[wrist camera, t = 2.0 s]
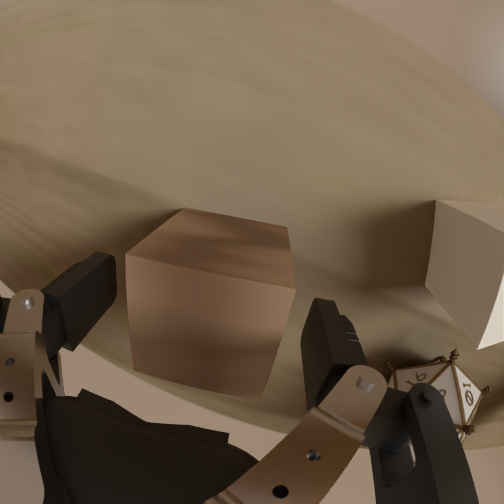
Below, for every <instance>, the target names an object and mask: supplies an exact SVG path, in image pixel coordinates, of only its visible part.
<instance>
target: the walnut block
mask: <svg viewBox="0 0 504 504" xmlns="http://www.w3.org/2000/svg"><path fill="white" fill-rule="evenodd" d="M125 269H126V294H127V309H128V322H129V332H130V341H131V350H132V358H133V365H134V370H135V371H138V372H141V373H144V374H147V375H151V376H154V377H157V378H161V379H164V380H168V381H172V382H175V383H179V384H183V385H187V386H191V387H195V388H199V389H204V390H208V391H213V392H218V393H223V394H228V395H233V396H239V397H245V398H251V399H257V400H261V397H262V395H263V392H264V389H265V386H266V383H267V380H268V377H269V374H270V371H271V369H272V366H273V363H274V360H275V357H276V354H277V350H278V347H279V344H280V341H281V338H282V335H283V332H284V329H285V325H286V322H287V319H288V316H289V312H290V309H291V306H292V302H293V299H294V296H295V292H296V283H295V276H294V270H293V263H292V256H291V250H290V244H289V237H288V231H287V227H283V226H278V225H273V224H268V223H263V222H258V221H253V220H248V219H242V218H237V217H232V216H227V215H221V214H216V213H210V212H205V211H199V210H193V209H188V208H183V209H182V210H181V211H179V212H178V213H177V214H175V215H174V216H173V217H171V218H170V219H169V220H167V221H166V222H165V223H163V224H162V225H161V226H160V227H158V228H157V229H156V230H154V231H153V232H152V233H151V234H149V235H148V236H147V237H146V238H144V239H143V240H142V241H141V242H139V243H138V244H137V245H136V246H134V247H133V248H132V249H131V250H129V251H128V252H127V253H126V254H125Z"/></svg>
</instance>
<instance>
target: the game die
mask: <svg viewBox="0 0 504 504" xmlns="http://www.w3.org/2000/svg"><path fill="white" fill-rule="evenodd" d="M450 354H451V355H450V356H449V357H450V360H447V361H446V358H445V356H443V357H442V358H441V359H440V362H437V363H431V364H425V365H419V366H412V367H405V368H397V369H396V368H395V364H393V362H390V361H387V360H386V362H387V367H388V368H389V370H391V371H392V374H391V377H390V379H389V382H388V384H387V387H390V388H393V389H397V390H400V391H404V392H408V391H409V390H410V389H411V387H412V386H413V385H414V384H416V383H427V384H430V385H432V386H433V387H435V388H436V389H437V390H438V391H439V392H440V393H441V395H442V396H443V399H444V401H445V403H446V406H447V408H448V410H449V413H450V415H451V418H452V420H453V423H454V425H455V428H456V430H457V433H458V436H459V439H460V441H461V444H462V442H463V440H464V438H465V436H466V434H468V435H470V434H471V433H473V432H475V431H474V425H472V426H471V423H472V421H473V418H474V416H475V413H476V411H477V408H478V406H479V403H480V400H481V398H482V395H483V394H485V395H486V394H487V393H490V391H491V390H492V388H493V387H489V386H487V387H486V388H484V389H483V390H481V389H480V388H479V387H478V386H477V385H476V384H475V383H474V382H473V381H472V380H471V379H470V378H469V377H468V375H467V374H466V373H465V372H464V371H463V370H462V369H461V368H460V367H459V366H458V365H457V364H456V363H455V362H454V361H455V360H456V359H457V356H459V354H458V351H457V348H456V349H455V350H454V351H452V352H451V353H450ZM409 445H410V449H411V453H412V458H413V462H414V466H415V454H414V450H413V446H412V442H411V443H410V444H409Z"/></svg>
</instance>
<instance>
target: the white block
mask: <svg viewBox="0 0 504 504" xmlns="http://www.w3.org/2000/svg"><path fill="white" fill-rule="evenodd" d="M425 287H426V288H427V289H428V290H429V291H430V292H431V294H432V295H433V296H434V297H435V298H436V299H437V300H438V302H439V303H440V304H441V305H442V306H443V308H444V309H445V310H446V311H447V312H448V313H449V315H450V316H451V317H452V318H453V320H454V321H455V322H456V323H457V325H458V326H459V327H460V328H461V330H462V331H463V332H464V333H465V335H466V336H467V337H468V339H469V340H470V341H471V343H472V344H473V345H474V347H475V348H476V349H477V350H478V349H481V348H484V347H487V346H490V345H493V344H496V343H499V342H501V341H504V206H502V205H499V204H497V203H493V202H477V201H456V200H436V207H435V219H434V229H433V237H432V245H431V252H430V259H429V265H428V271H427V276H426V281H425Z"/></svg>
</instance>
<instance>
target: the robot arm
mask: <svg viewBox="0 0 504 504" xmlns="http://www.w3.org/2000/svg"><path fill="white" fill-rule="evenodd" d="M116 294H117V283H116V262H115V258H114V256H113V255H109V254H105V253H101V252H96V253H94V254H93V255H91V256H90V257H89V258H87V259H86V260H84V261H82V262H79V263H77V264H74V265H73V266H71V267H70V268H69V269H67V271H65V272H64V273H62V274H61V275H60V276H58V277H57V278H56V279H55V280H53V281H52V282H51V283H50V284H48V285H47V286H46V287H45V288H43V289H42V290H41V291H39V290H36V289H25V290H22V291H20V292H18V293H16V294H15V295H14V296H13V297H12V298H11V299H9V298H3V297H1V296H0V504H319V503H320V502H321V500H322V499H323V498H324V497H325V496H326V494H327V493H328V492H329V490H330V489H331V487H332V486H333V485H334V484H335V482H336V481H337V480H338V478H339V477H340V475H341V474H342V473H343V471H344V470H345V468H346V467H347V465H348V464H349V462H350V461H351V459H352V458H353V456H354V455H355V453H356V451H357V450H358V448H359V447H360V445H364V446H368V447H369V449H370V455H371V463H372V471H373V479H374V486H375V497H376V504H479V502H478V498H477V494H476V490H475V486H474V482H473V479H472V475H471V472H470V468H469V465H468V462H467V459H466V456H465V453H464V450H463V447H462V444H461V441H460V439H459V436H458V433H457V430H456V428H455V425H454V423H453V420H452V418H451V415H450V413H449V410H448V408H447V406H446V403H445V401H444V399H443V396H442V395H441V393H440V392H439V391H438V390H437V389H436V388H435V387H433V386H432V385H430V384H427V383H416V384H414V385H413V386H412V387H411V389H410V390H409V391H408V392H404V391H400V390H397V389H393V388H390V387H387V382H386V380H385V378H384V377H383V376H382V374H381V373H379V372H378V371H377V370H375V369H373V368H371V367H368V364H367V361H366V358H365V356H364V353H363V350H362V347H361V345H360V342H359V339H358V337H357V335H356V331H355V329H354V326H353V324H352V323H351V322H350V321H349V320H348V318H347V317H346V316H345V315H339V312H338V309H337V306H336V304H335V302H334V301H332V300H326V299H320V298H315V299H314V300H313V302H312V305H311V308H310V311H309V314H308V317H307V320H306V322H305V325H304V328H303V331H302V335H301V353H302V362H303V372H304V381H305V391H306V402H307V411H310V412H309V413H308V414H307V415H306V416H305V417H304V418H303V419H302V420H301V421H300V422H299V423H298V424H297V425H296V426H295V428H294V429H293V430H292V431H291V432H290V433H289V434H288V435H287V436H286V437H285V438H284V439H283V440H282V441H281V442H279V443H278V444H277V445H276V446H275V447H274V448H273V449H272V450H271V451H270V452H269V453H268V454H267V455H266V456H265V457H264V458H262V459H261V460H260V461H258V460H257V459H255V458H254V457H253V456H251V455H250V454H248V453H247V452H245V451H244V450H242V449H240V448H238V447H236V446H233V445H231V444H229V443H228V437H229V433H225V432H220V431H214V430H209V429H204V428H200V427H195V426H191V425H177V424H160V423H150V422H146V421H144V420H142V419H140V418H138V417H137V416H135V415H133V414H132V413H130V412H129V411H127V410H126V409H124V408H123V407H121V406H119V405H118V404H116V403H115V402H113V401H111V400H108V399H106V398H103V397H101V396H99V395H96V394H94V393H92V392H89V391H87V390H85V389H82V390H81V391H80V393H79V394H78V396H77V397H72V396H65V393H64V386H63V378H62V368H61V357H60V353H59V350H60V349H61V347H63V348H65V349H67V350H70V351H74V350H75V348H76V347H77V346H78V345H79V343H80V342H81V341H82V340H83V338H84V337H85V336H86V335H87V333H88V332H89V331H90V330H91V329H92V327H93V326H94V325H95V324H96V323H97V321H98V320H99V319H100V318H101V317H102V315H103V314H104V313H105V312H106V311H107V310H108V308H109V307H110V306H111V305H112V304H113V302H114V300H115V298H116ZM411 442H412V446H413V450H414V454H415V466H414V462H413V458H412V453H411V449H410V445H409V444H410V443H411Z"/></svg>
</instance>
